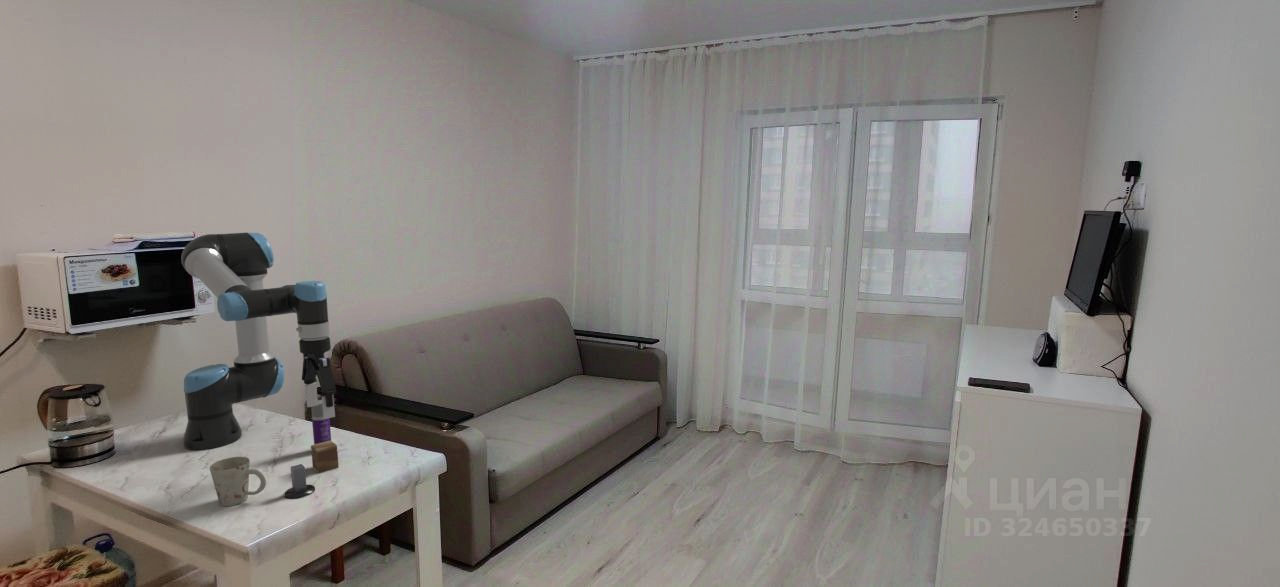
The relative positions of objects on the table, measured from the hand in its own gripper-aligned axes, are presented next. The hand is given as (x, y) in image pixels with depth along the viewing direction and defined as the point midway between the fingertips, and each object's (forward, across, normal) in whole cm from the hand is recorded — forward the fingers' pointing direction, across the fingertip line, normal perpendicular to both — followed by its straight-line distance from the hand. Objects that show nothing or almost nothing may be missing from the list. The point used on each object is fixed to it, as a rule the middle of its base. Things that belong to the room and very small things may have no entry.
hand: (320, 411), depth 173 cm
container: (+17, -14, +4) cm, 22 cm away
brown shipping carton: (+17, 0, 0) cm, 17 cm away
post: (+17, +11, -10) cm, 22 cm away
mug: (+17, +5, -22) cm, 28 cm away
